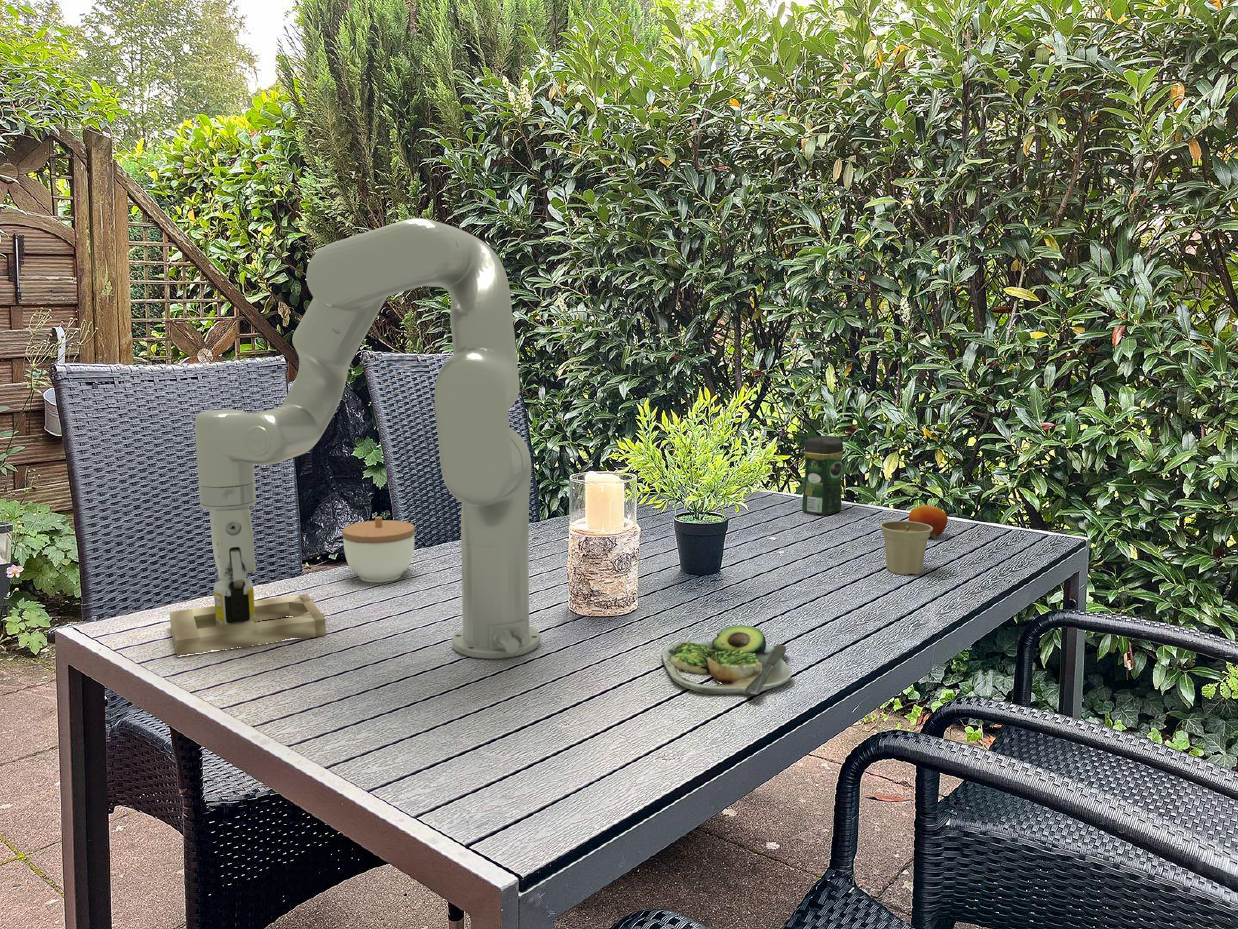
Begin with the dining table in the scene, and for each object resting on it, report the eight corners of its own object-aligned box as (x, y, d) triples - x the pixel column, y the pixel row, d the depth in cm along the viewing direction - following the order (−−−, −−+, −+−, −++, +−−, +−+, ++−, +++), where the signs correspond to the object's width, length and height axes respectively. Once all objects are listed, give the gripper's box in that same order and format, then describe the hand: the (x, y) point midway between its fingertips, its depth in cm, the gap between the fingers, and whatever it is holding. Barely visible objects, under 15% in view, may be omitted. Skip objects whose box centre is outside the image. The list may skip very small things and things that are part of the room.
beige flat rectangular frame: (310, 608, 151) (309, 593, 151) (328, 635, 139) (327, 618, 138) (170, 627, 141) (169, 611, 141) (177, 658, 129) (175, 640, 129)
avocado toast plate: (817, 705, 116) (818, 670, 116) (674, 709, 115) (675, 673, 114) (779, 650, 135) (780, 619, 135) (656, 652, 134) (656, 621, 133)
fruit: (907, 534, 199) (909, 499, 202) (906, 545, 206) (908, 511, 209) (948, 537, 196) (949, 501, 199) (945, 548, 203) (947, 514, 206)
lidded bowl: (430, 574, 171) (429, 515, 170) (380, 591, 161) (378, 528, 159) (380, 564, 178) (378, 507, 176) (329, 580, 167) (326, 519, 165)
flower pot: (878, 575, 173) (880, 530, 171) (876, 562, 182) (879, 519, 180) (931, 579, 170) (934, 533, 169) (927, 566, 179) (930, 522, 178)
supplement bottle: (262, 625, 142) (258, 562, 140) (244, 637, 136) (240, 572, 135) (228, 624, 142) (224, 561, 141) (209, 636, 137) (204, 571, 135)
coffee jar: (818, 506, 234) (821, 432, 231) (846, 511, 228) (849, 435, 225) (795, 512, 227) (798, 436, 224) (823, 517, 221) (827, 439, 218)
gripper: (263, 503, 130) (271, 628, 133) (247, 483, 145) (254, 596, 148) (205, 508, 127) (213, 637, 130) (195, 487, 142) (203, 603, 145)
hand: (235, 614), depth 139 cm, fingers closed on supplement bottle, 5 cm apart
